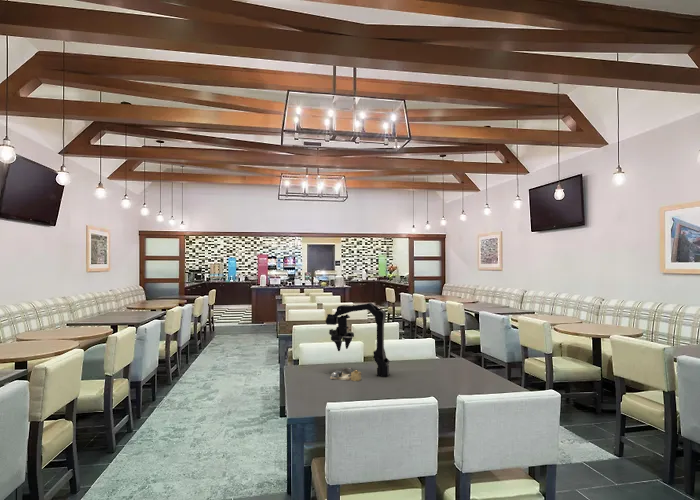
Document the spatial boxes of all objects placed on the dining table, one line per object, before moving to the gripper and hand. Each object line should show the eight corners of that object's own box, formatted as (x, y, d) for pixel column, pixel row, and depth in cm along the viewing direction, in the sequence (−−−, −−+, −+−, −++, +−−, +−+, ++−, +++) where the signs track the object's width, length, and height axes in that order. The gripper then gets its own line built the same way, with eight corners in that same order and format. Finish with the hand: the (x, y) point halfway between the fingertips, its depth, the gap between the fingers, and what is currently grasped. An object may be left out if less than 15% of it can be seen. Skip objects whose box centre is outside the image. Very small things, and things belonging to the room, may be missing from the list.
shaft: (336, 375, 258) (336, 370, 258) (342, 376, 255) (342, 371, 255) (329, 376, 254) (329, 371, 255) (335, 378, 251) (335, 373, 251)
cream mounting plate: (358, 374, 265) (358, 367, 265) (348, 380, 250) (348, 373, 250) (341, 372, 269) (341, 366, 270) (330, 378, 255) (330, 371, 255)
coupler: (361, 379, 252) (361, 369, 253) (358, 381, 248) (358, 371, 249) (354, 378, 254) (354, 369, 255) (351, 380, 250) (351, 370, 250)
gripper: (339, 322, 284) (340, 346, 283) (323, 326, 268) (324, 351, 267) (354, 323, 278) (354, 347, 277) (338, 327, 262) (338, 352, 261)
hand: (342, 349), depth 271 cm, fingers open, 9 cm apart
